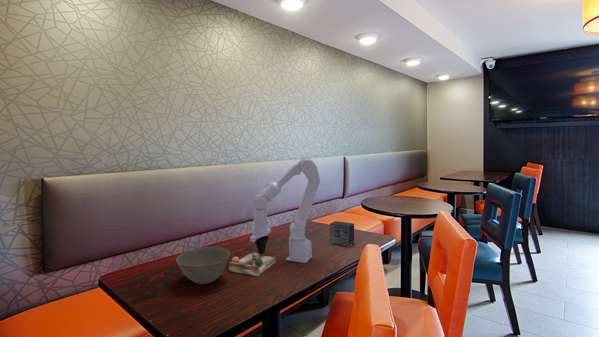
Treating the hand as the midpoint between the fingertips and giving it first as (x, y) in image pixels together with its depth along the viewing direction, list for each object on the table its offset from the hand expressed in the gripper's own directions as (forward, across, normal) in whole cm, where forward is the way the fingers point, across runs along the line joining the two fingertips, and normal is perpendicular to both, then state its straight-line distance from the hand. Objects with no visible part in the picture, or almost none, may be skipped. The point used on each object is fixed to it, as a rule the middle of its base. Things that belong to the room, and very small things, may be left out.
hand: (261, 253), depth 137 cm
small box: (+3, -33, +27) cm, 43 cm away
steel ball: (-1, +5, 0) cm, 5 cm away
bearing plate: (+3, +8, 0) cm, 8 cm away
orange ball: (-1, +12, -5) cm, 13 cm away
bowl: (+3, +26, -9) cm, 28 cm away
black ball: (-1, +11, +5) cm, 12 cm away
